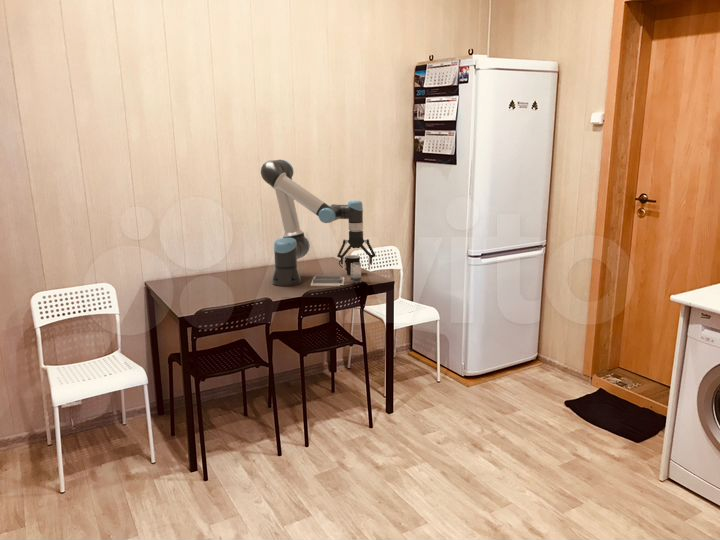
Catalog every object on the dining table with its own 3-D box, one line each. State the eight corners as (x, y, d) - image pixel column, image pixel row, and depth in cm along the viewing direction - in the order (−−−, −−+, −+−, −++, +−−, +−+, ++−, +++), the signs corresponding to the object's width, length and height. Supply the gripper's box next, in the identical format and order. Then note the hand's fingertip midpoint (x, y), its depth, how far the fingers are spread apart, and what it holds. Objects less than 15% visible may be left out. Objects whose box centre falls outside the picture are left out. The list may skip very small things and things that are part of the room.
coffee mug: (360, 272, 328) (360, 255, 326) (359, 275, 320) (359, 258, 318) (340, 271, 329) (340, 254, 327) (338, 275, 321) (338, 258, 319)
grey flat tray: (310, 285, 299) (310, 281, 298) (313, 278, 315) (313, 274, 314) (343, 285, 299) (342, 281, 298) (344, 278, 314) (344, 274, 314)
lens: (350, 283, 304) (350, 264, 302) (350, 280, 310) (350, 262, 308) (361, 283, 304) (361, 264, 302) (361, 280, 310) (361, 262, 308)
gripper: (331, 231, 297) (332, 271, 302) (379, 231, 297) (380, 271, 302) (332, 229, 305) (333, 268, 310) (379, 229, 304) (379, 268, 309)
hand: (356, 269), depth 306 cm, fingers open, 13 cm apart
